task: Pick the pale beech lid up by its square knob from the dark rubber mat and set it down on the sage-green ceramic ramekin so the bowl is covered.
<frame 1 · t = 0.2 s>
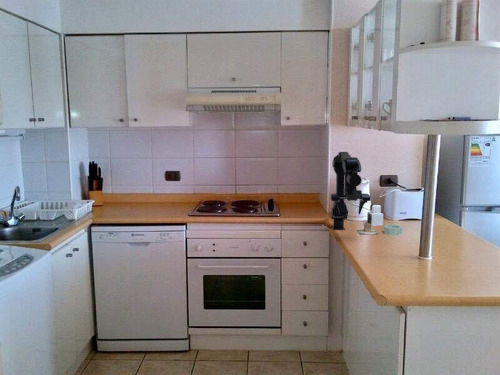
hand: (349, 214, 216), 14 cm above the counter, fingers open, 9 cm apart
medicine bottle: (375, 225, 255), on the counter
lid: (367, 232, 236), resting on mat
mat: (367, 233, 236), on the counter
bowl: (392, 233, 234), on the counter
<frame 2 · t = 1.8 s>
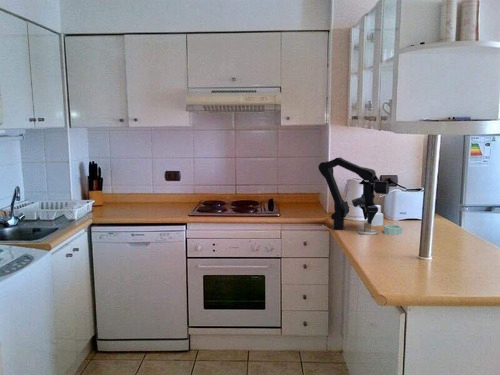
hand: (367, 221, 236), 6 cm above the counter, fingers open, 9 cm apart
nothing on the counter moved.
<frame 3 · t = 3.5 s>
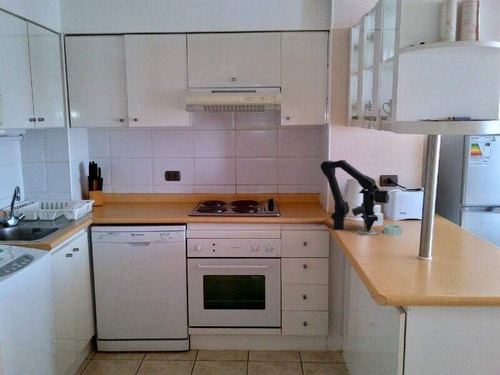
hand: (367, 230, 236), 2 cm above the counter, fingers closed on lid, 3 cm apart
lid: (367, 232, 236), resting on mat, touching gripper
everything else where it was.
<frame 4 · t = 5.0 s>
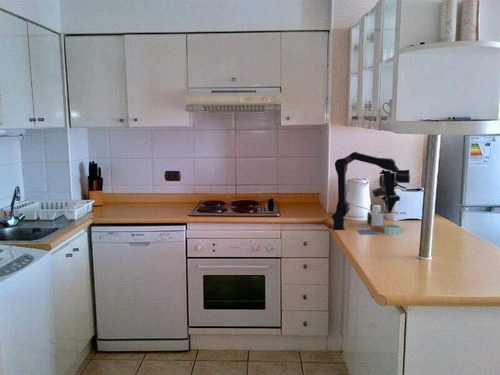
hand: (388, 211, 233), 12 cm above the counter, fingers closed on lid, 3 cm apart
lid: (388, 213, 233), point 11 cm above the counter, touching gripper
everything else where it was.
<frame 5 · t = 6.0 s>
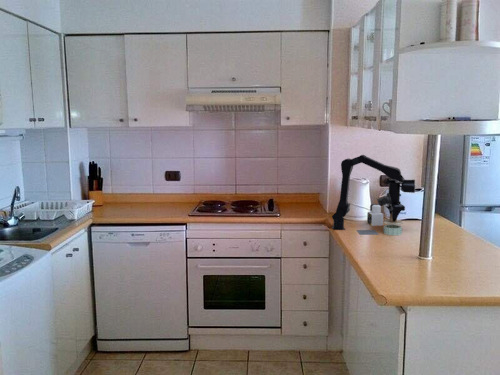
hand: (393, 220, 233), 7 cm above the counter, fingers closed on lid, 3 cm apart
lid: (392, 222, 233), point 6 cm above the counter, touching gripper
everything else where it was.
when the fingers open (6 cm above the counter, at t = 6.8 s): lid drops 1 cm, resting on bowl.
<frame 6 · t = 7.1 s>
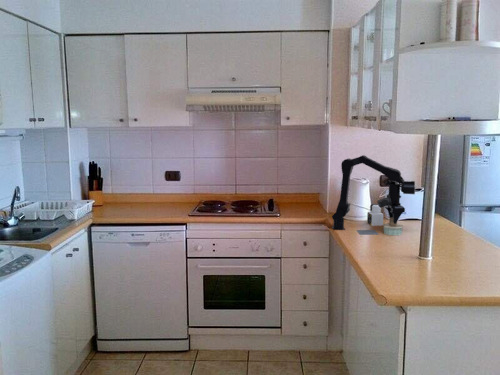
hand: (393, 222, 233), 6 cm above the counter, fingers open, 6 cm apart
lid: (392, 226, 234), point 4 cm above the counter, touching bowl
everything else where it was.
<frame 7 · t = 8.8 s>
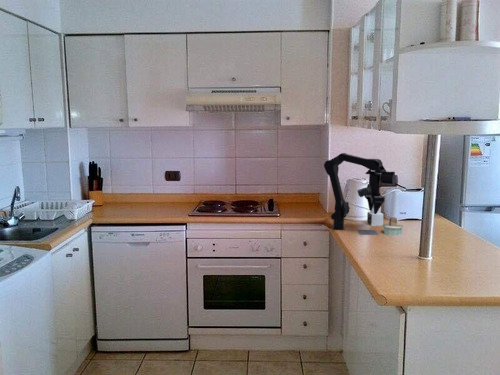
hand: (372, 211, 233), 12 cm above the counter, fingers open, 9 cm apart
nothing on the counter moved.
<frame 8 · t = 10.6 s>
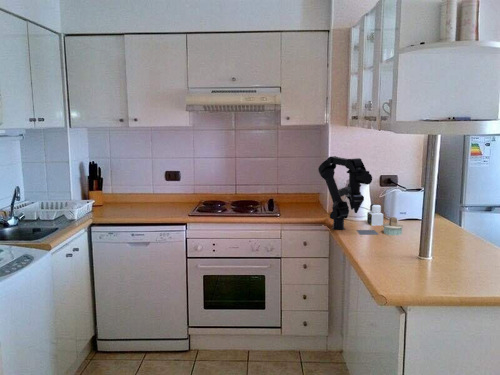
hand: (353, 211, 233), 13 cm above the counter, fingers open, 9 cm apart
nothing on the counter moved.
at the end: lid 0.0 cm from the bowl (horizontally); lid 0.0 cm off-centre on the bowl, point 4.0 cm above the bowl's base; lid tilted 0° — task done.
